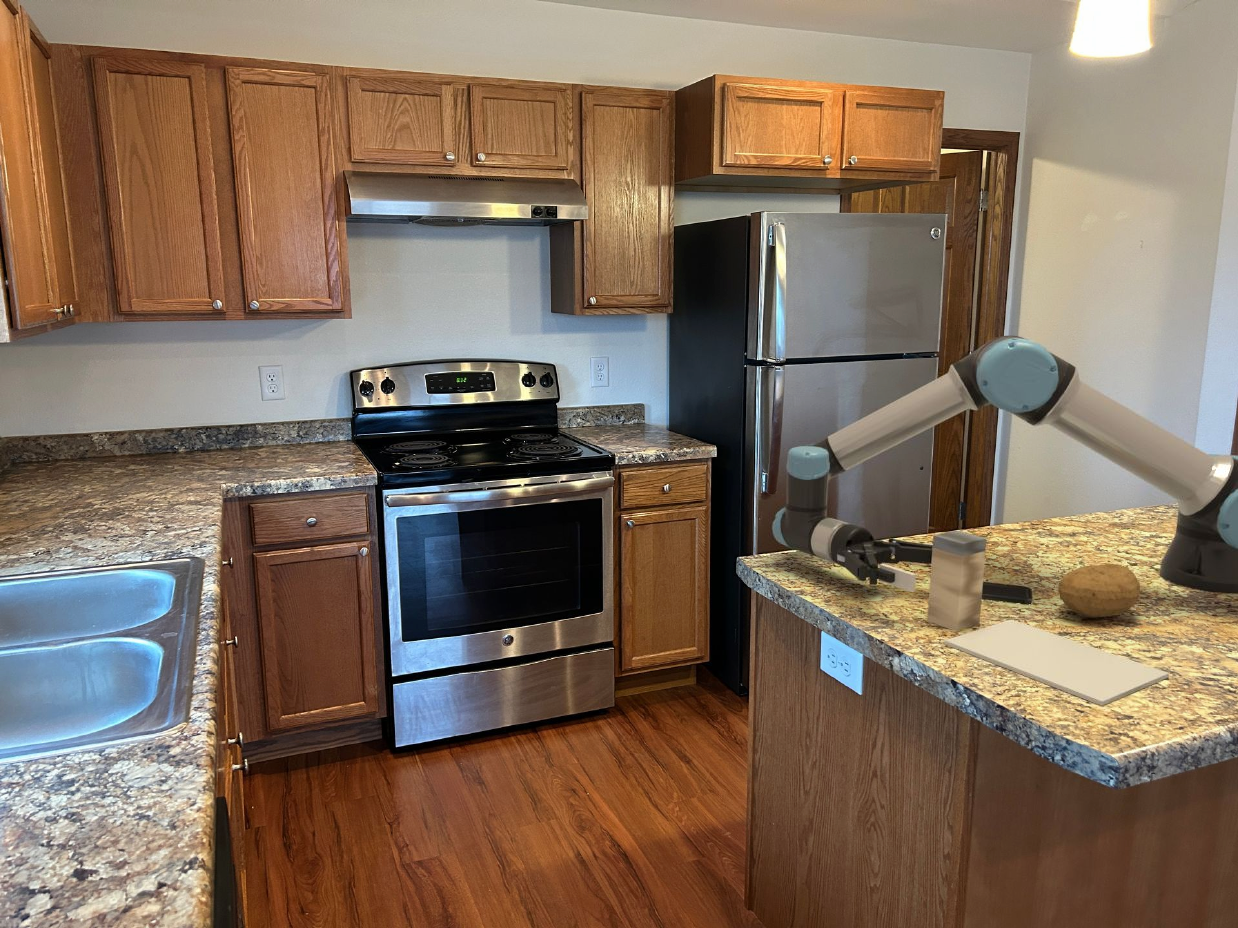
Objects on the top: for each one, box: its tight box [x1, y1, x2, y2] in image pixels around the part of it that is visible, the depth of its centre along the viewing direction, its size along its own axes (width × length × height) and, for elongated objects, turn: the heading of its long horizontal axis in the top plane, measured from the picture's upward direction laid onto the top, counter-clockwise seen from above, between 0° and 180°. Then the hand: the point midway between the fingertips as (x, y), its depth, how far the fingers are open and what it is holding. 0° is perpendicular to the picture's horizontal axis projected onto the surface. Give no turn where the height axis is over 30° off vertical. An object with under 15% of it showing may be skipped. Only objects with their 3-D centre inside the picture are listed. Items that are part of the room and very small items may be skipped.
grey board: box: [944, 619, 1170, 707], centre depth 130 cm, size 24×16×1 cm, turn 33°
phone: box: [981, 581, 1033, 606], centre depth 159 cm, size 8×1×15 cm
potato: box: [1058, 563, 1141, 619], centre depth 147 cm, size 10×14×8 cm
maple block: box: [927, 530, 987, 633], centre depth 143 cm, size 6×6×14 cm
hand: (943, 575), depth 145 cm, fingers open, 13 cm apart
